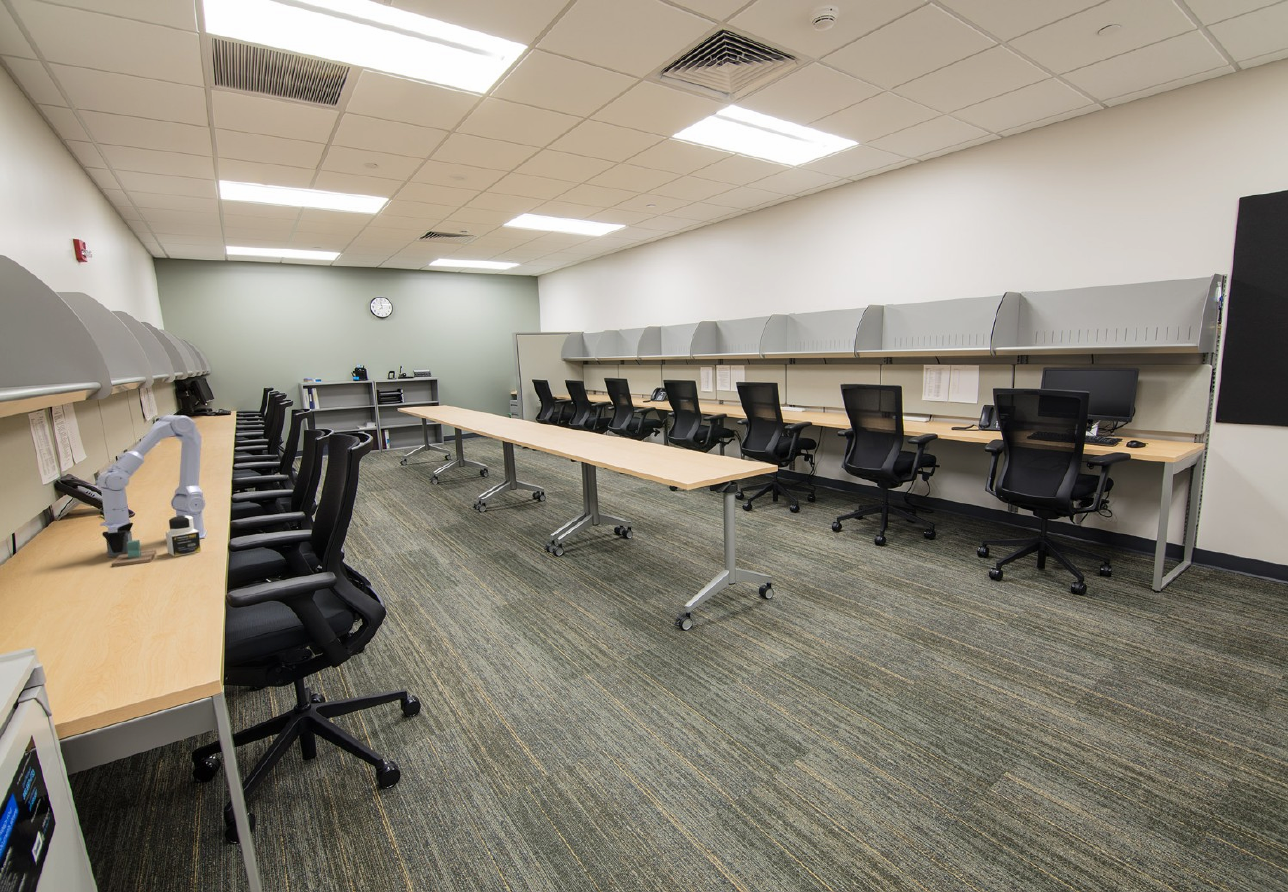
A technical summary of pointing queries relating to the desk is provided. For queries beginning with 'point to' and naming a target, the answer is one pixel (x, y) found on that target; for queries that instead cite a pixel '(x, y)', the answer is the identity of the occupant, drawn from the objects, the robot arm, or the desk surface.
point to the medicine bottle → (182, 536)
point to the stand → (134, 555)
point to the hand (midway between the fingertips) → (120, 549)
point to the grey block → (127, 538)
